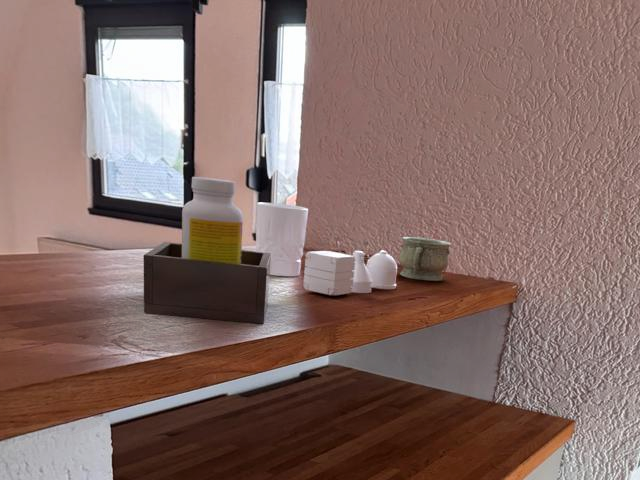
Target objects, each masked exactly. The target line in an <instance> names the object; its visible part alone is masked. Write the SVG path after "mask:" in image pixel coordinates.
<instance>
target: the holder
mask: <svg viewBox="0 0 640 480" xmlns="http://www.w3.org/2000/svg"><path fill="white" fill-rule="evenodd" d="M241 250H242V252H241V264H236V263H227V262H217V261H207V260H198V259H188V258H182V243H179V242H171V241H170V242H169V241H163V242H162V243H160V244H159V245H157V246H155V247H154V248H152V249H151V250H150V251H148V252H146V253H145V254H143V313H145V314H153V315H163V316H164V315H166V316H174V317H185V318H186V317H187V318H195V319H196V318H197V319H205V320H206V319H207V320H217V321H226V322H227V321H228V322H238V323H249V324H257V325H259V324H260V325H264V324H265V319H266V315H267V309H268V305H269V296H270V295H269V294H270V280H271V275H270V264H271V253H265V252H256V251H254V250H245V249H241Z"/></svg>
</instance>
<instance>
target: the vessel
mask: <svg viewBox="0 0 640 480" xmlns="http://www.w3.org/2000/svg"><path fill="white" fill-rule="evenodd" d="M401 239H402V241H403V242H402V244H401V251H400V254H399V257H398V261H399V264H400V265H401V266H402V267H403V268H402V270H400V275H401V276H402V277H404V278H409V279H414V280H420V281H432V282H439V281H443V276H442V272H444V271H446V270H447V268H448V267H449V254H450V247H451V246H452V243H451V242H448V241H444V240H438V239H432V238H425V237H415V236H403V237H401Z"/></svg>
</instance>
